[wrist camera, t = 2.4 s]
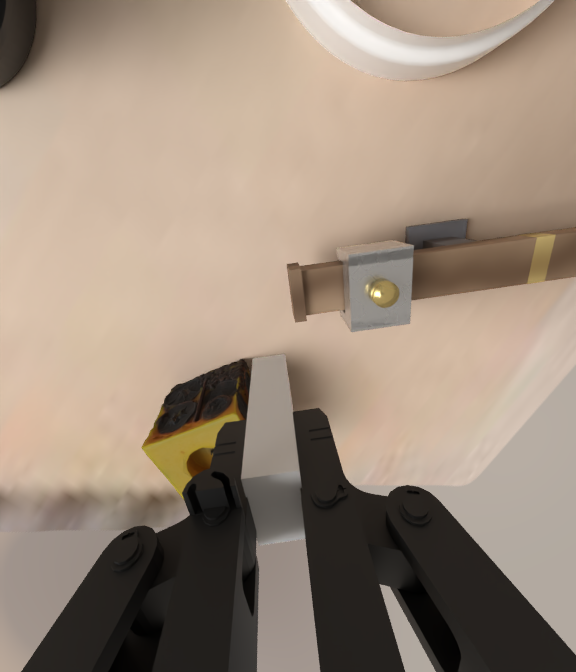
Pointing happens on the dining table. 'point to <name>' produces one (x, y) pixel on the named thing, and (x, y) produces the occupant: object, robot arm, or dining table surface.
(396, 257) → the rider
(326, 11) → the white hoop ring
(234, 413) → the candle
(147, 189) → the dining table surface
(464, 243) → the beam
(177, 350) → the dining table surface
